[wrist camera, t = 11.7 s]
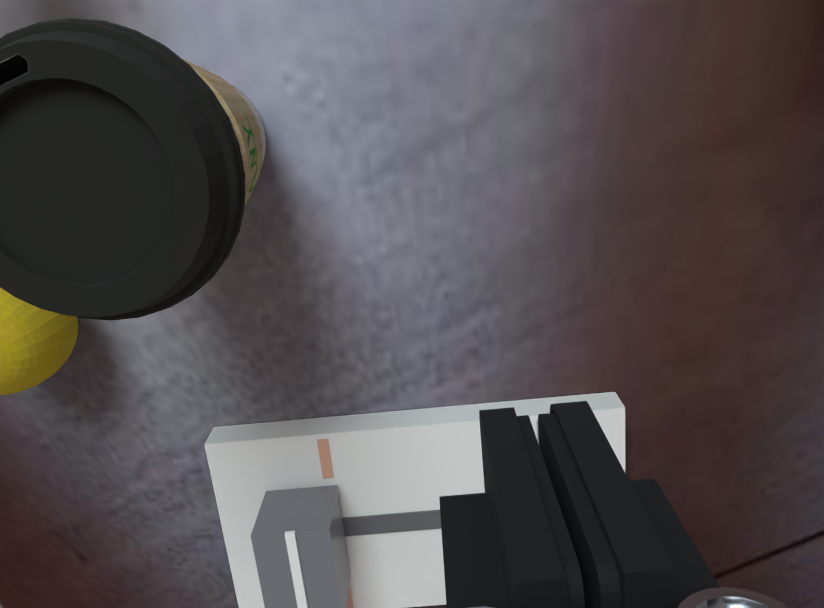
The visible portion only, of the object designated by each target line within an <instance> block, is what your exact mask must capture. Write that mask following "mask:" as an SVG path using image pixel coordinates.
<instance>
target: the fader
mask: <svg viewBox="0 0 824 608" xmlns="http://www.w3.org/2000/svg"><path fill="white" fill-rule="evenodd" d="M251 540H252V546H253V551H254V556H255V561H256V566H257V571H258V576H259V581H260V586H261V591H262V596H263V601H264V606H265V608H347V602H348V593H349V585H350V576H351V573H350V566H349V560H348V553H347V546H346V539H345V533H344V526H343V519H342V512H341V506H340V499H339V492H338V486H337V485H331V486H320V487H308V488H296V489H284V490H273V491H266V492H265V495H264V498H263V501H262V504H261V507H260V510H259V513H258V516H257V519H256V522H255V524H254V527H253V530H252V533H251Z"/></svg>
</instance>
